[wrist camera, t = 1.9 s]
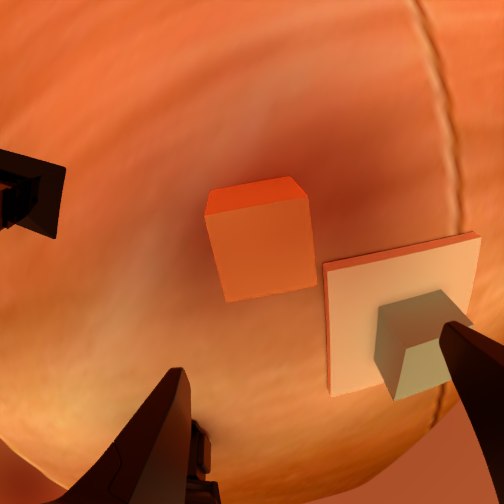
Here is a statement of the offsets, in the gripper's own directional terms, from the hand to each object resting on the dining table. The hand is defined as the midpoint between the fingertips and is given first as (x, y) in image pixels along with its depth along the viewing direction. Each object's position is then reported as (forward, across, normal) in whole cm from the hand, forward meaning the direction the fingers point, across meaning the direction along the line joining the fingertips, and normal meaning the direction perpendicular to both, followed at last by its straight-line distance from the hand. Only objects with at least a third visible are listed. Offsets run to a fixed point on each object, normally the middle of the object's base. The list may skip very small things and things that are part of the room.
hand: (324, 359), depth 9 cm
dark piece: (+13, +19, -6) cm, 24 cm away
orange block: (+12, +1, 0) cm, 12 cm away
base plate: (+12, -10, +10) cm, 19 cm away
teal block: (+11, -10, +10) cm, 18 cm away
